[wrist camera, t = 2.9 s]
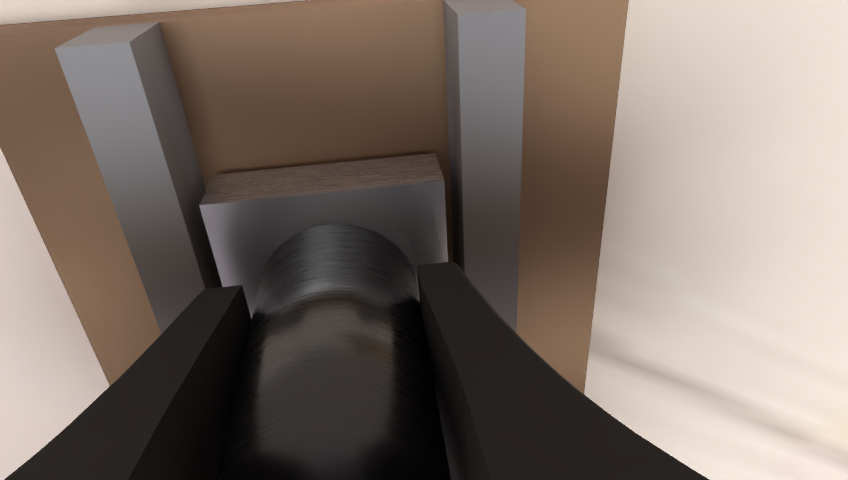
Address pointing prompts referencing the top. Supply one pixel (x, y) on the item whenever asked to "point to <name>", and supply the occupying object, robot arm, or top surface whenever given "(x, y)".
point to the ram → (332, 318)
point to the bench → (317, 143)
